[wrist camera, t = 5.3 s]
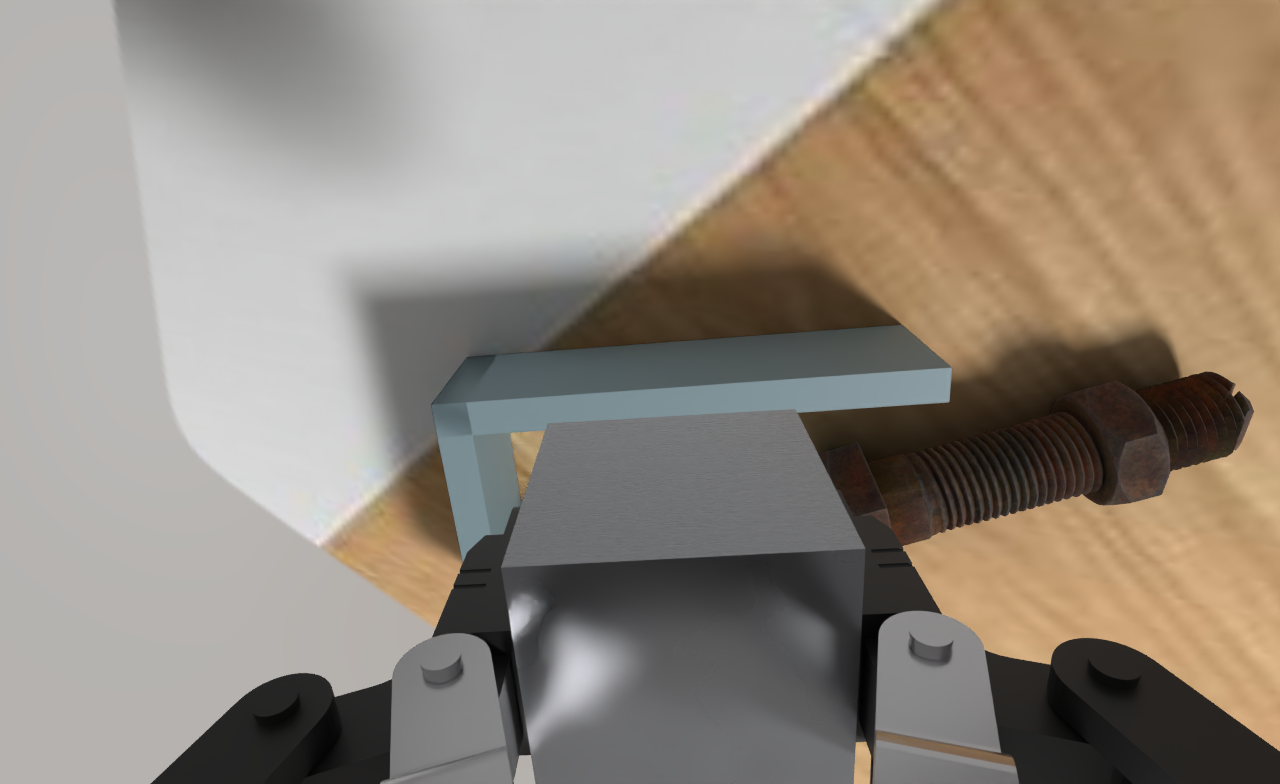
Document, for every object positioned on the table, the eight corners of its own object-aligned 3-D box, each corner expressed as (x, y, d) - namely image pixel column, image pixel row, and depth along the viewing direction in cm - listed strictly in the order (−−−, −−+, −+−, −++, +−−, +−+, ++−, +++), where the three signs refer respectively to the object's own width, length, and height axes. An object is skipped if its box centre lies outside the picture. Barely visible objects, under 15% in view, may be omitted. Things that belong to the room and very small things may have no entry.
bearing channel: (467, 356, 29) (430, 404, 24) (902, 324, 28) (952, 367, 23) (508, 586, 33) (484, 665, 28) (890, 563, 32) (931, 641, 27)
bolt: (1159, 392, 31) (814, 487, 32) (1200, 310, 27) (806, 423, 28) (1256, 508, 27) (861, 611, 28) (1319, 433, 23) (859, 556, 25)
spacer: (547, 423, 13) (501, 567, 9) (795, 408, 13) (865, 548, 9) (572, 625, 15) (542, 827, 11) (793, 614, 15) (851, 814, 10)
